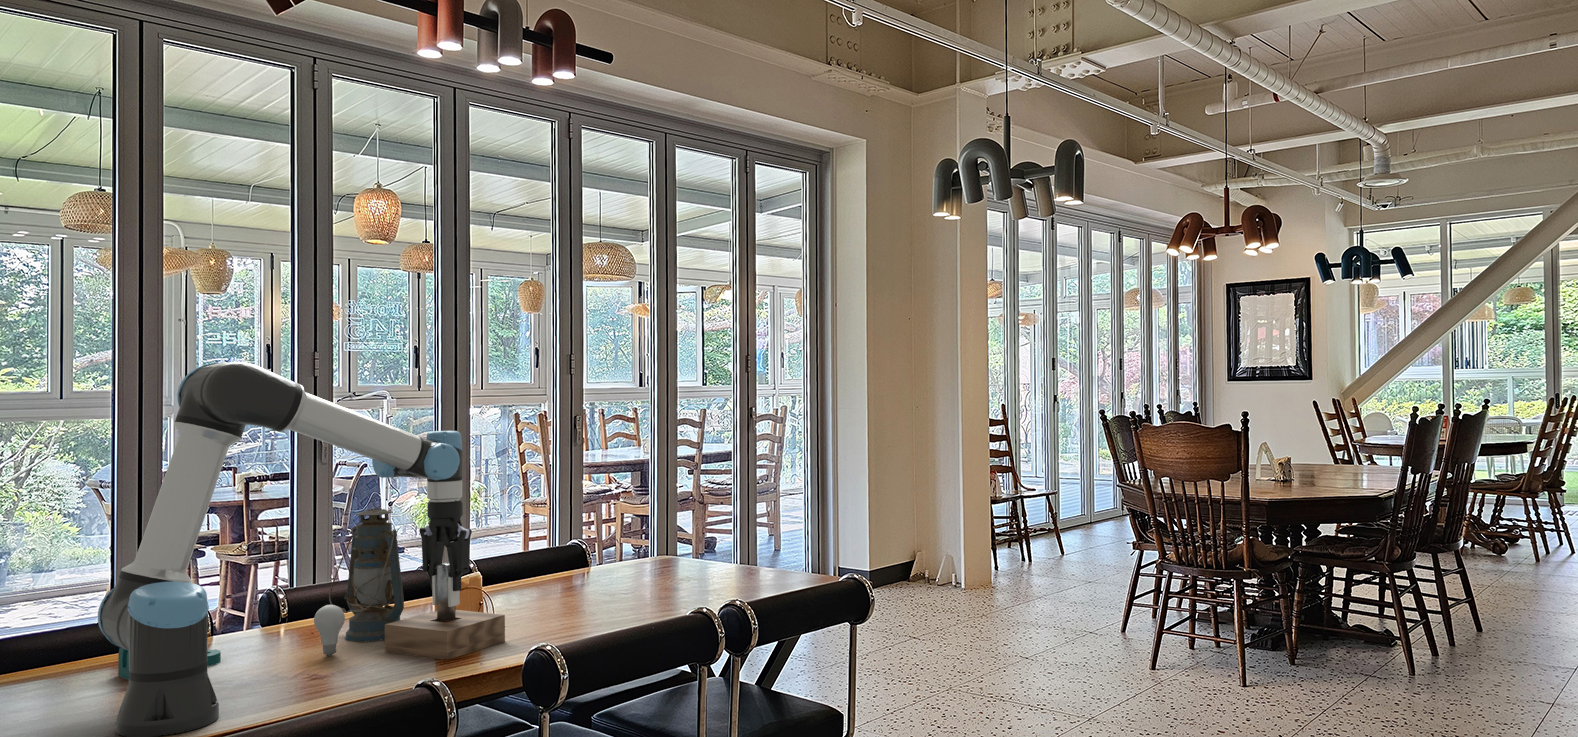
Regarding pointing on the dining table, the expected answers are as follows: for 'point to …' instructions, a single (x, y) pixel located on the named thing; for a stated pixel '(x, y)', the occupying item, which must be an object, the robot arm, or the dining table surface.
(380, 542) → the lantern
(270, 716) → the dining table surface
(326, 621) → the lightbulb
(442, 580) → the pin
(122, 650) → the bracket
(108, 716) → the dining table surface
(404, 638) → the walnut block
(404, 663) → the dining table surface
